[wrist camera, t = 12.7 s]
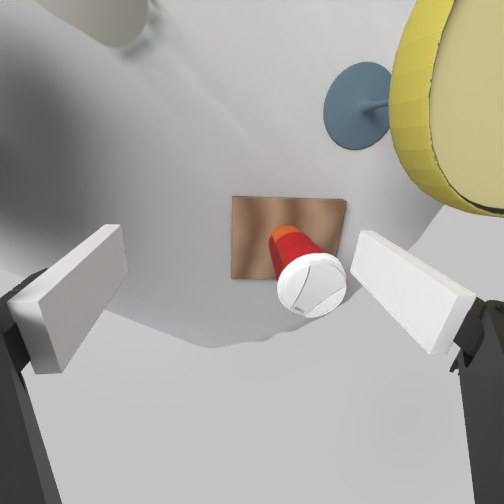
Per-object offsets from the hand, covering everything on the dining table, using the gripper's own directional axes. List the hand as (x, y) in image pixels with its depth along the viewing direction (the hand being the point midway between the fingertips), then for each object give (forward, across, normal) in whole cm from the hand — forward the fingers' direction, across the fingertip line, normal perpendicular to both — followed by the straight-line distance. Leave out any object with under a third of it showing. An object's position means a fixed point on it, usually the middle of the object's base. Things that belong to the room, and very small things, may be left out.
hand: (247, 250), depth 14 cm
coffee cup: (+25, +10, -10) cm, 29 cm away
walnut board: (+26, +10, -10) cm, 30 cm away
